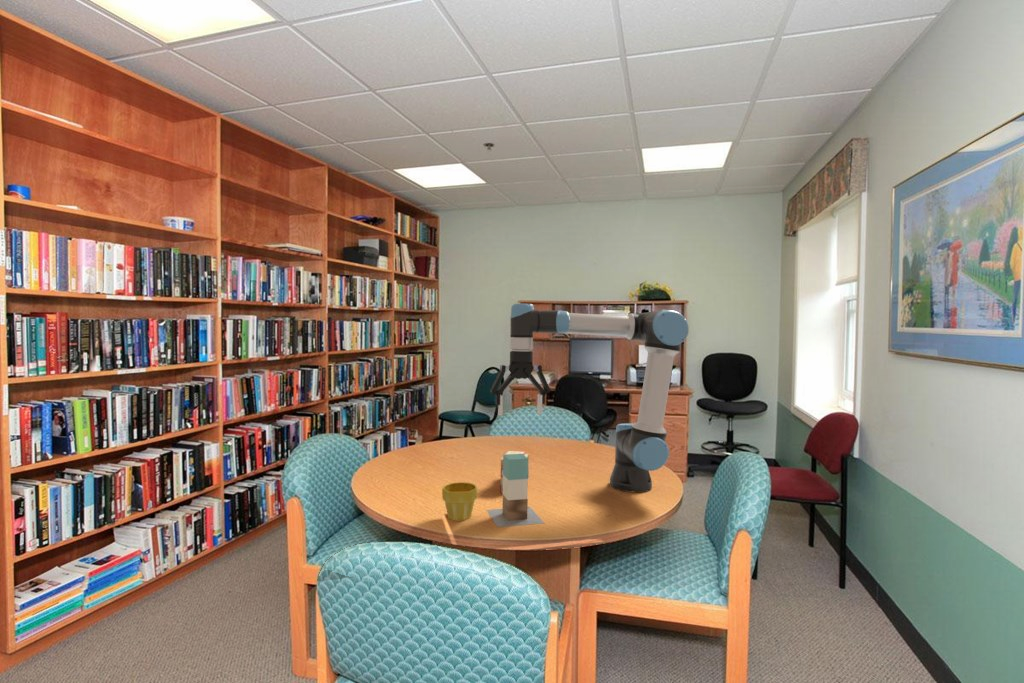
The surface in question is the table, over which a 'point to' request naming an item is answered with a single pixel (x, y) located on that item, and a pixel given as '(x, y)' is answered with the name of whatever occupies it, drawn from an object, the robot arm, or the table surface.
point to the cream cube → (515, 489)
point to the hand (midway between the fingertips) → (520, 414)
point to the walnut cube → (515, 509)
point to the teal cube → (515, 466)
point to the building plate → (502, 521)
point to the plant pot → (459, 499)
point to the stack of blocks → (502, 466)
